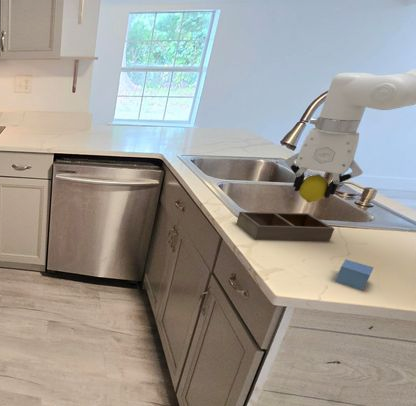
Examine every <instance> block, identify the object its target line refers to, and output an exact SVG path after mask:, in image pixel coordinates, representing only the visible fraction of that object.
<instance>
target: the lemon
mask: <svg viewBox="0 0 416 406" xmlns="http://www.w3.org/2000/svg"><path fill="white" fill-rule="evenodd" d="M328 186H329V182H328V180H327V179H326V177H324V176H322V175H321V174H319V173H317V174H314V175H313V174H312V175H309V176H307V177H306V178H304V181H303V182H302V184H301V185H300V188H299V190H298V192H299V195H300V197H301V198H302V199H303V200H305V201H306V203H309V204H310V203H313V202H318V201H320V200H322V199H323V198H325V197H324V196H325V194H326V191H327V189H328Z"/></svg>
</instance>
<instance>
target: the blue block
mask: <svg viewBox="0 0 416 406" xmlns="http://www.w3.org/2000/svg"><path fill="white" fill-rule="evenodd" d="M374 268H375V267H373V266H370V265H367V264H363V263H361V262H357V261H353V260H350V259H347V258H346V259H345V260H344V261H343V262H342V264H341V266H340V268H339V270H338V273H337V275H336V278H335V279H334V282H335V283H339V284H342V285H344V286H348V287H351V288H353V289H355V290H360V291H362V292H363V291H364V289H365V287H366V285H367V283H368V281H369V279H370V277H371V274H372V272H373V271H374Z"/></svg>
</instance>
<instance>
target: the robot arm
mask: <svg viewBox="0 0 416 406" xmlns="http://www.w3.org/2000/svg"><path fill="white" fill-rule="evenodd" d="M414 105H416V67H415V68H413V69H411V70H409V71H408V70H407V71H406V72H400V73H399V72H398V73H393V74H379V75H376V74H374V73H371V72H370V73H369V72H352V71H351V72H340V73H337V74H336V75H334V76H333V78H332V80H331V82H330V84H329V88H328V90H327V93H326V96H325V99H324V102H323V105H322V109H321V111H320V114H319V116H318V117H315V118H313V117H311V118H310V121H309V124H310V125H314V126H315V127H313V128H311V129H310V130H309V131H308V133H307V135H306V136H305V138H304V141H303V143H302V145H301V147H300V150H299V152H297V153H295V154H294V155H292V156H290V157H288V158H287V159H285V160H284V162H285V164H287V166H288V167H289V168H290V170H291V171H292V172H293V173H294V176H295V179H294V181H293V185H292V187H294V189H293V191H294V192H299V188H300V185H301V184H302V182H303V181H304V180H305V179H306V178H305V177H306V176H305V173H306V172H307V170H312V171H318V172H324V173H328V174H331V175H332V176H331V177H332V180H331V181H330V182H329V183H328V189H327V191H326V194H325V196H324V197H323V198H325V199H329V198H330V197H331V195H332V196H334V195H335V193H336V192H337V189H338V186H339V185H340V184H341V183H343V182H346V181H348V180H350V179H353V178H357V177H359V176H362V174H363V173H364V172H363V170H362V168H361V167H360V166H359V165H358V163H357V162H356V160H355V159H354V158H355V155H356V152H357V149H358V146H359V139H360V133H359V132H357V131H358V129H359V127H360V123H361V121H362V119H363V116H364V113H365V111H366V108H369V109H372V110H378V111H390V110H391V111H392V110H397V109H402V108H405V107H411V106H414ZM349 169H351V172H348V171H349ZM347 172H348V173H347ZM342 174H343V175H342Z"/></svg>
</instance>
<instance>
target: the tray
mask: <svg viewBox="0 0 416 406" xmlns="http://www.w3.org/2000/svg"><path fill="white" fill-rule="evenodd" d="M235 224H236V225H237V226H238V227H239V228H240V229H242V230H243V231H244V232H245V233H246V234H247V235H249V236H250V237H251V238H252V239H253V240H255V241H257V240H258V241H285V242H286V241H287V242H288V241H289V242H290V241H291V242H320V243H321V242H323V243H328V242H329V243H330V241H331V239H332V236H333V233H334V231H335V228H334V227H332V226H331V225H329V224H328V223H326V222H324V221H322V220H321V219H319V218H317V217H316V216H314V215H312V214H310V213H309V212H267V211H266V212H265V211H264V212H262V211H260V212H258V211H239V212H238V216H237V220H236V223H235Z"/></svg>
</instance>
